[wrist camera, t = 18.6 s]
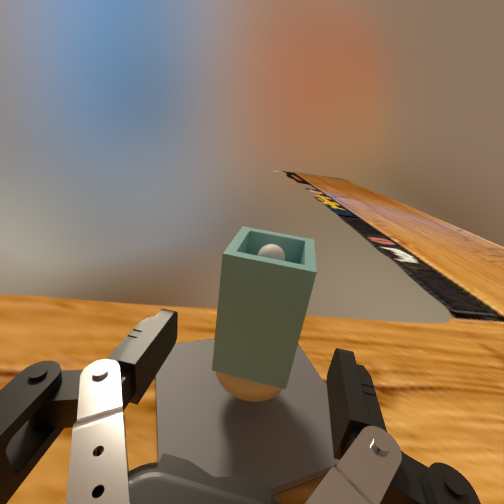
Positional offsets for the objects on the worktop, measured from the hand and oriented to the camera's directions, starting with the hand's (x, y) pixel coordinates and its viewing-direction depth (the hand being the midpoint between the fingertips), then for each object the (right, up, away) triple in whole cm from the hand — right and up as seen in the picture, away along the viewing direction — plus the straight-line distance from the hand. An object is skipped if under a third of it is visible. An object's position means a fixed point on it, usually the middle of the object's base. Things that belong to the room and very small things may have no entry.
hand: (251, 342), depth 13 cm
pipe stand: (-1, -10, +12) cm, 15 cm away
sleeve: (0, -4, +10) cm, 10 cm away
